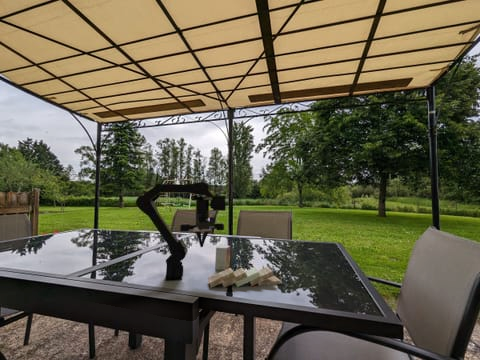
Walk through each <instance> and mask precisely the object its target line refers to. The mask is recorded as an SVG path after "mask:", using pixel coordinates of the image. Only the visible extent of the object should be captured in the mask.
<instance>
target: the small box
mask: <svg viewBox="0 0 480 360" xmlns="http://www.w3.org/2000/svg"><path fill="white" fill-rule="evenodd" d="M230 264H231V245H226V244H224V245H223V244H220V245H219V246H216V247H215V263H214V269H215V270H220V271H224V270H226V269H228V268H230Z"/></svg>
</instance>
